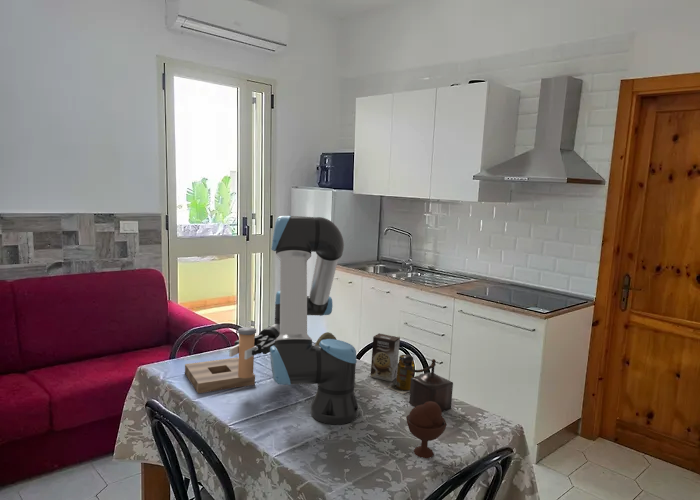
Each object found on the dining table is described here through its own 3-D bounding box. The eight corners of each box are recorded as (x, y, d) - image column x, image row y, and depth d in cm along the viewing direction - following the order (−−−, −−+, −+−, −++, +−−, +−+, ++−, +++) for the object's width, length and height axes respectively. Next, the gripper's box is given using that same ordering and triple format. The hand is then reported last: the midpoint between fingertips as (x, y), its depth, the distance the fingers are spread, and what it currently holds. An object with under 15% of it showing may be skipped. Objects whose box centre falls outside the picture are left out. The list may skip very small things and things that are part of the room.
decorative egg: (333, 375, 187) (336, 338, 185) (308, 371, 190) (309, 334, 188) (342, 366, 197) (345, 330, 195) (318, 362, 200) (320, 327, 199)
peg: (257, 377, 164) (258, 330, 162) (239, 379, 161) (241, 332, 159) (251, 371, 169) (252, 326, 167) (234, 373, 166) (235, 328, 164)
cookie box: (369, 377, 188) (372, 336, 186) (375, 372, 194) (378, 332, 192) (391, 382, 184) (394, 340, 182) (397, 376, 190) (400, 336, 188)
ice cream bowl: (438, 443, 140) (442, 393, 138) (447, 464, 129) (452, 410, 127) (401, 441, 139) (405, 391, 138) (407, 463, 128) (411, 409, 127)
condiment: (417, 389, 179) (419, 357, 178) (402, 394, 173) (404, 362, 172) (402, 382, 184) (404, 352, 183) (387, 388, 178) (389, 356, 177)
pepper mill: (428, 396, 172) (432, 347, 170) (452, 408, 164) (456, 357, 162) (395, 405, 163) (399, 354, 161) (418, 419, 154) (422, 364, 152)
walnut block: (254, 384, 174) (255, 375, 174) (198, 393, 164) (198, 383, 164) (237, 366, 191) (237, 357, 191) (184, 373, 181) (185, 364, 180)
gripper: (293, 350, 178) (261, 369, 156) (250, 343, 184) (214, 360, 162) (294, 330, 177) (262, 346, 155) (251, 323, 183) (214, 338, 161)
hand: (238, 353), depth 159 cm, fingers closed on peg, 5 cm apart
